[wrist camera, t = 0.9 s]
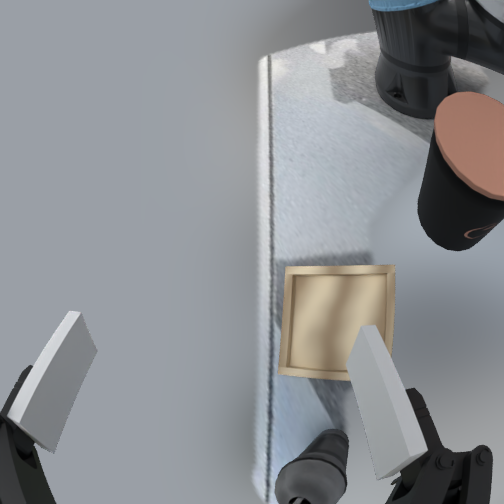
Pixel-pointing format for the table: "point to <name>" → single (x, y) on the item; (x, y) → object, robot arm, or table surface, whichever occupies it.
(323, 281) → the tray
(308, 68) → the table surface
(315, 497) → the beverage cup
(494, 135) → the coffee jar
